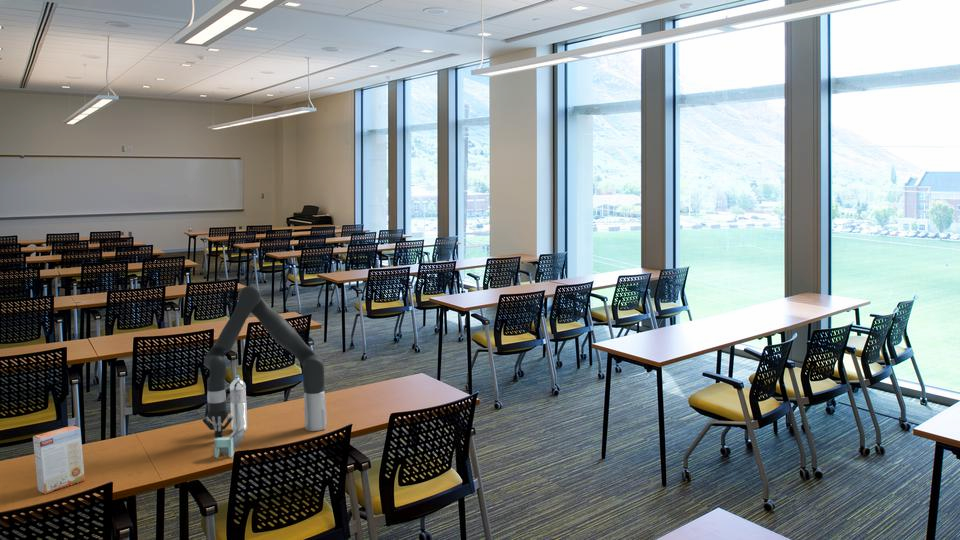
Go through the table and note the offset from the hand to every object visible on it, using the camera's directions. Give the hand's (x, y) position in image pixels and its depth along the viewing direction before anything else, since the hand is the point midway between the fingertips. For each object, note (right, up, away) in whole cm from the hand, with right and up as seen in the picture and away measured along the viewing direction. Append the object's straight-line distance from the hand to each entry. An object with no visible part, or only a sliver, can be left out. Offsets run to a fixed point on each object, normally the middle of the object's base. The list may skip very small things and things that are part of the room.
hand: (219, 438), depth 297 cm
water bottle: (+4, 0, +14) cm, 15 cm away
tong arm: (+7, -1, -4) cm, 8 cm away
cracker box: (-41, -7, -45) cm, 61 cm away
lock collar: (+9, -3, -17) cm, 20 cm away
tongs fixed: (+8, -2, -6) cm, 10 cm away
